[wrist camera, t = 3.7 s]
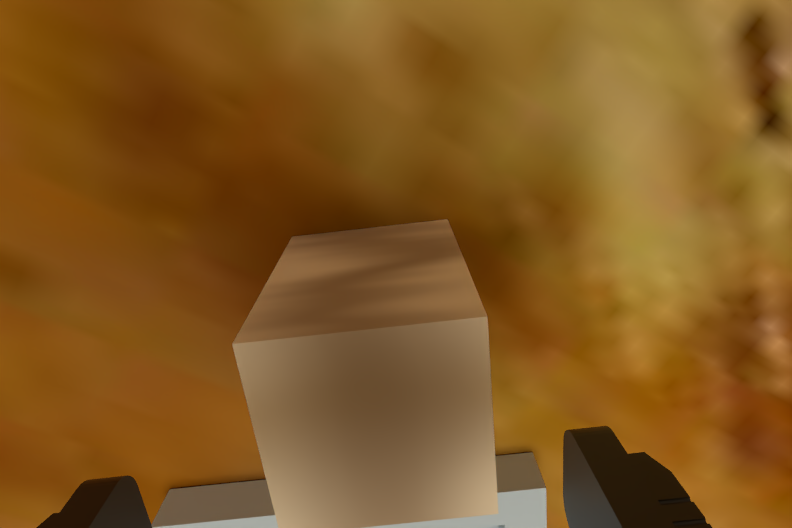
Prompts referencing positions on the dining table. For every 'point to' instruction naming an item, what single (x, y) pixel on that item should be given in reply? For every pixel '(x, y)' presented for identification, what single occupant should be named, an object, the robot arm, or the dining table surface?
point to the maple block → (371, 380)
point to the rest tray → (256, 524)
